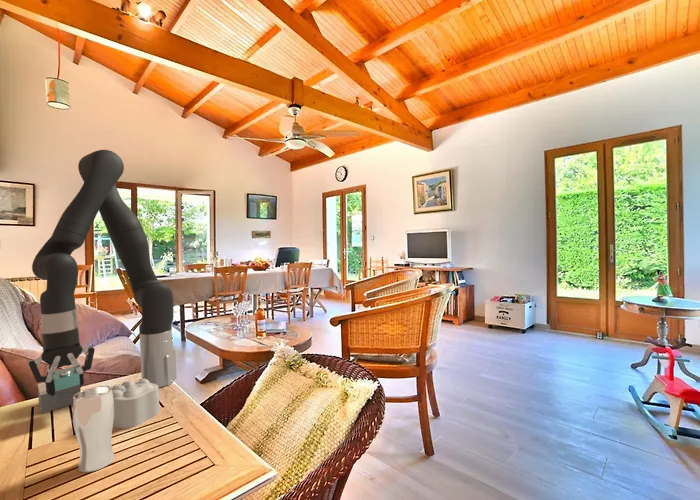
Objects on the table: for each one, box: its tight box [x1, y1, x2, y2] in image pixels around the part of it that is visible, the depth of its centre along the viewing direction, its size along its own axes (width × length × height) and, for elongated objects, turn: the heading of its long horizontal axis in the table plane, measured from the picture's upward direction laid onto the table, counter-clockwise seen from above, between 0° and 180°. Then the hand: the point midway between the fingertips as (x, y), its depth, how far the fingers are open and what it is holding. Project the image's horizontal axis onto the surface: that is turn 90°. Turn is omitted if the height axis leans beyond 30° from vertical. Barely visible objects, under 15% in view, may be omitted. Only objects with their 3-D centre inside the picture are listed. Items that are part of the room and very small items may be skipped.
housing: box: [52, 366, 82, 403], centre depth 92 cm, size 5×8×7 cm, turn 47°
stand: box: [37, 382, 73, 414], centre depth 100 cm, size 8×8×6 cm
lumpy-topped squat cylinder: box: [111, 378, 160, 430], centre depth 91 cm, size 10×13×9 cm
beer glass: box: [72, 385, 115, 474], centre depth 72 cm, size 7×7×15 cm
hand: (65, 390), depth 92 cm, fingers closed on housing, 5 cm apart
